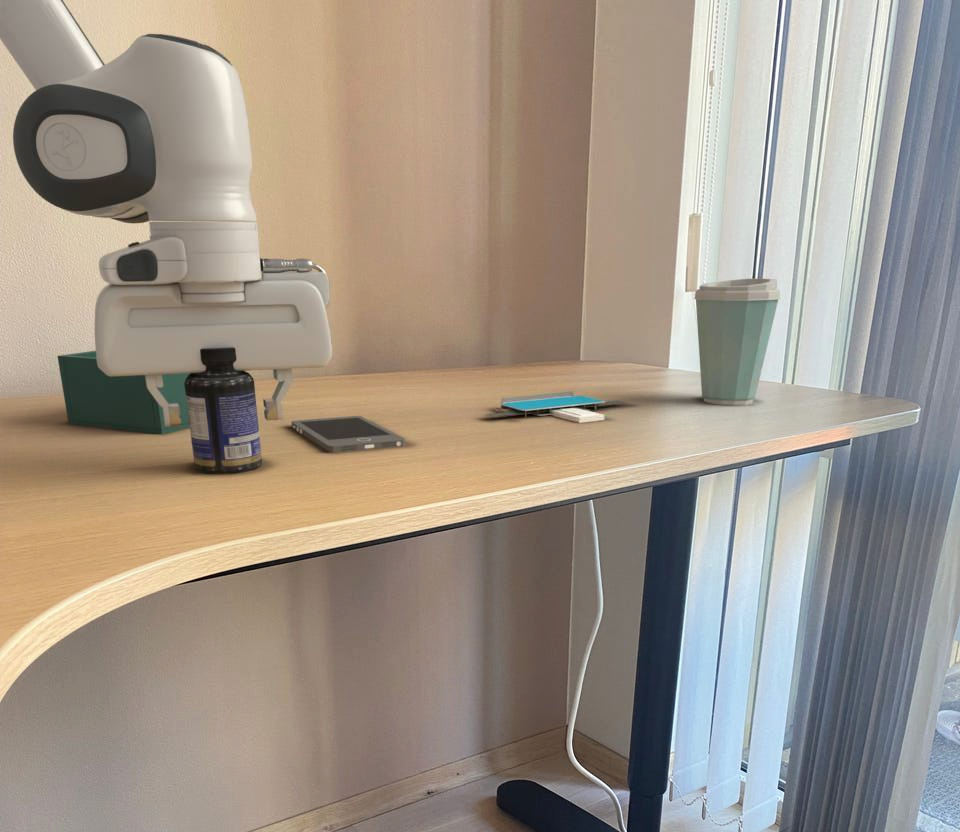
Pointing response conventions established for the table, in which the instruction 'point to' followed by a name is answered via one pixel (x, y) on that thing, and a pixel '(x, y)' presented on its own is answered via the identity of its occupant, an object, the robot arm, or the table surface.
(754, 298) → the disposable coffee cup
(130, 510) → the table surface
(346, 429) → the smartphone
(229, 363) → the pill bottle
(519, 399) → the teal tabletop platform
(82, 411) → the open box
